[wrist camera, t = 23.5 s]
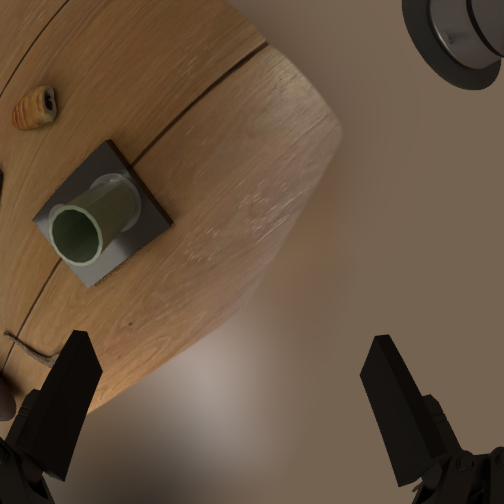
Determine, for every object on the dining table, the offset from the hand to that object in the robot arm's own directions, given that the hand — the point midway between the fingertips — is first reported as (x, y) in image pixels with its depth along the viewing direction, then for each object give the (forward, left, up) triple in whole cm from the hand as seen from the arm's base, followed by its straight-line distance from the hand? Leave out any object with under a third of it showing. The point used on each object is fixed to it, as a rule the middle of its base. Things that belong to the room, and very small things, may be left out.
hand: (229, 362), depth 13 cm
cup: (+18, +2, -30) cm, 35 cm away
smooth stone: (+81, +58, -33) cm, 105 cm away
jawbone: (+49, +36, -33) cm, 69 cm away
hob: (+22, +5, -33) cm, 40 cm away
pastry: (+32, -14, -33) cm, 48 cm away
